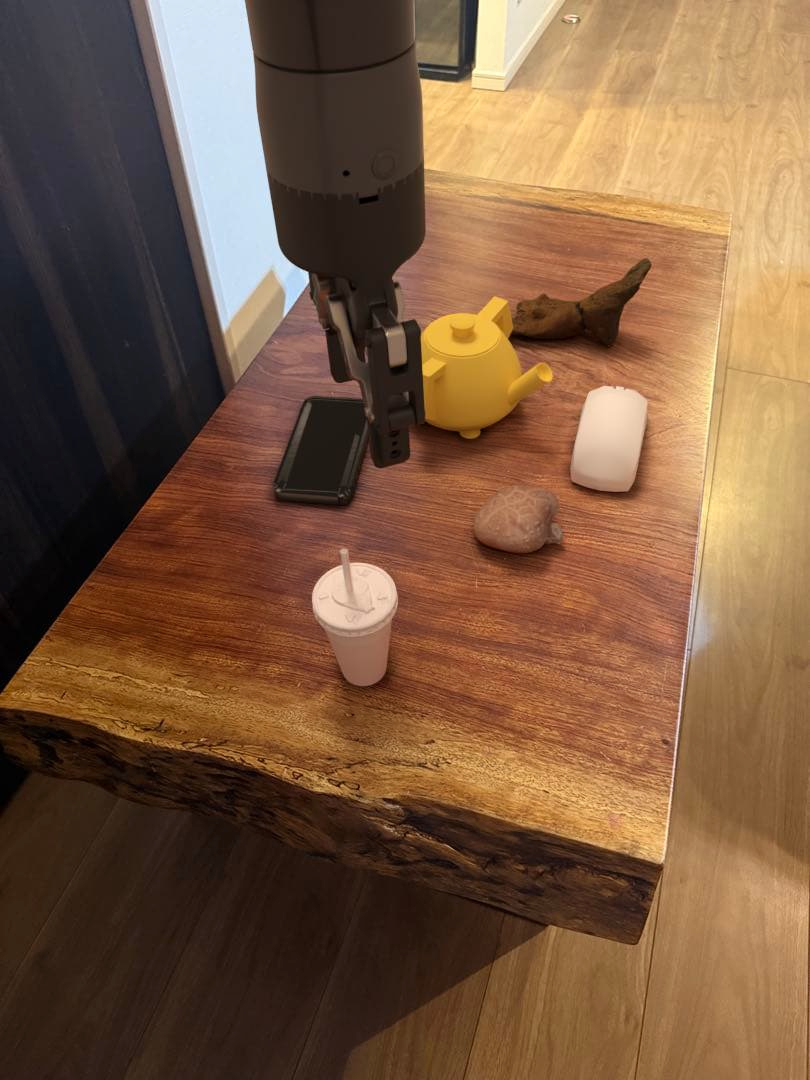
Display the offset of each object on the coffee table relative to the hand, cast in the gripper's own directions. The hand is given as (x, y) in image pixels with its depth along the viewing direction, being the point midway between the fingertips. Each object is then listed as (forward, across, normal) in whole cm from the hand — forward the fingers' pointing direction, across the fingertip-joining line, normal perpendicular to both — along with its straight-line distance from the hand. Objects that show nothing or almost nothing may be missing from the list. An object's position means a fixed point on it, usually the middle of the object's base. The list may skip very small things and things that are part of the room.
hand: (369, 417), depth 52 cm
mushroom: (+25, -8, +15) cm, 31 cm away
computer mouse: (+25, -15, +28) cm, 41 cm away
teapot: (+25, -27, +17) cm, 41 cm away
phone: (+25, -26, +2) cm, 36 cm away
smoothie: (+25, +1, -2) cm, 25 cm away
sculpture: (+25, -35, +34) cm, 54 cm away
